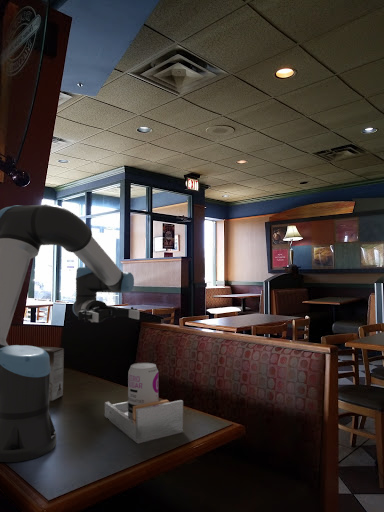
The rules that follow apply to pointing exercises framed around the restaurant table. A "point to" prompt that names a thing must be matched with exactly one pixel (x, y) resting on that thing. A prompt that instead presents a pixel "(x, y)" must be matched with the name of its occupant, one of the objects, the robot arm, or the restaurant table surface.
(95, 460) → the restaurant table surface
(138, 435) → the white drawer tray
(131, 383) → the supplement can
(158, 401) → the plate
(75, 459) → the restaurant table surface
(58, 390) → the coffee box
